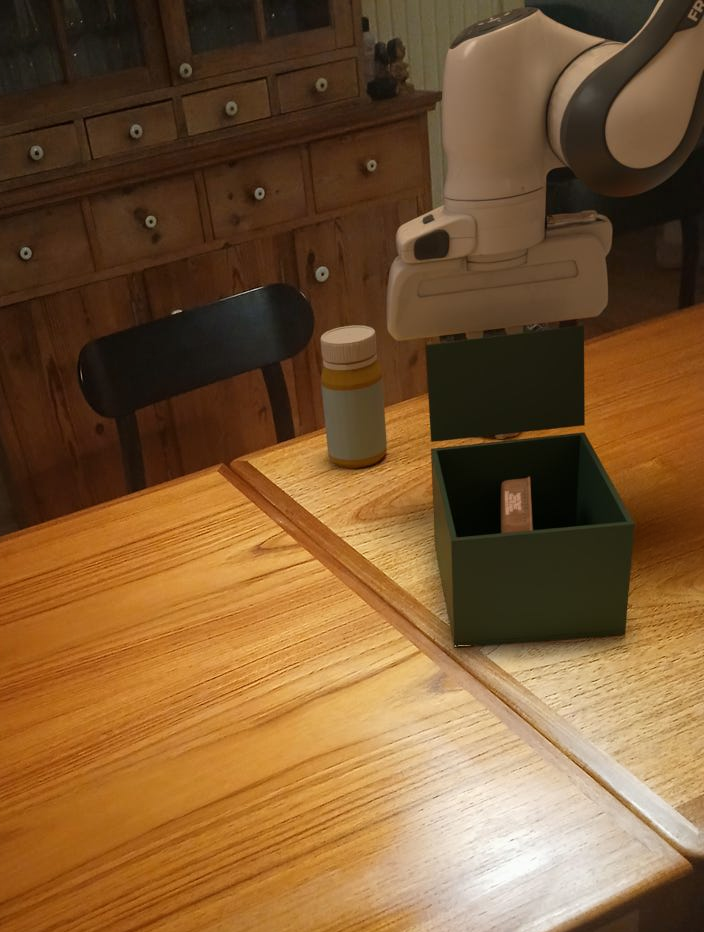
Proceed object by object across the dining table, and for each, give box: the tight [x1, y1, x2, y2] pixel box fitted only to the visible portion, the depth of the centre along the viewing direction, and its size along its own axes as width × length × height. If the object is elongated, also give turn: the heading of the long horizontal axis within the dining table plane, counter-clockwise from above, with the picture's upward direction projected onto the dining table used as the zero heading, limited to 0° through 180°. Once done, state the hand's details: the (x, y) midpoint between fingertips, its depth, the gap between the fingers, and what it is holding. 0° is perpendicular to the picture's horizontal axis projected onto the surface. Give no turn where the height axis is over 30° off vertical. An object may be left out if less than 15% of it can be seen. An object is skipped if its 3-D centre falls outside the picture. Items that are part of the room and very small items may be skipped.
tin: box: [501, 477, 533, 533], centre depth 88 cm, size 15×3×8 cm, turn 167°
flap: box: [424, 324, 586, 443], centre depth 90 cm, size 14×9×1 cm
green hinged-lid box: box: [430, 431, 636, 647], centre depth 88 cm, size 14×18×10 cm
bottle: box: [320, 325, 388, 469], centre depth 115 cm, size 7×7×15 cm
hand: (494, 371), depth 97 cm, fingers closed
